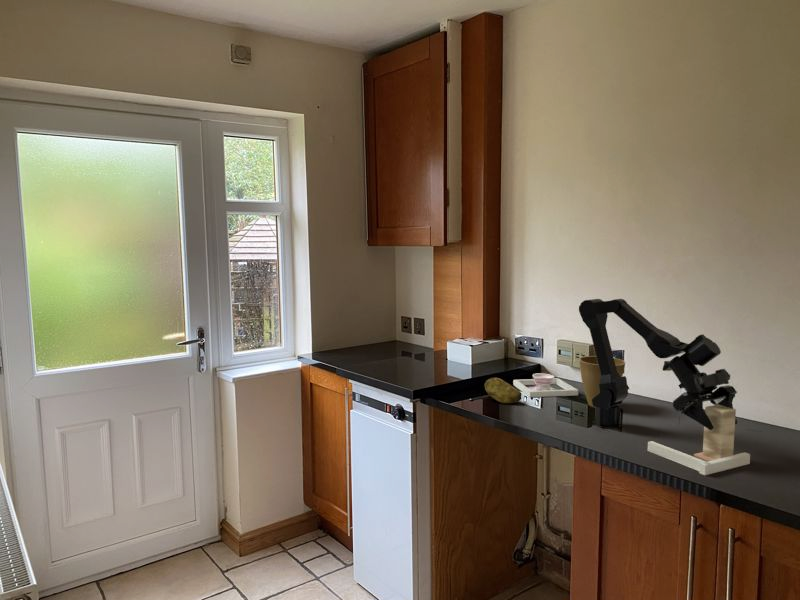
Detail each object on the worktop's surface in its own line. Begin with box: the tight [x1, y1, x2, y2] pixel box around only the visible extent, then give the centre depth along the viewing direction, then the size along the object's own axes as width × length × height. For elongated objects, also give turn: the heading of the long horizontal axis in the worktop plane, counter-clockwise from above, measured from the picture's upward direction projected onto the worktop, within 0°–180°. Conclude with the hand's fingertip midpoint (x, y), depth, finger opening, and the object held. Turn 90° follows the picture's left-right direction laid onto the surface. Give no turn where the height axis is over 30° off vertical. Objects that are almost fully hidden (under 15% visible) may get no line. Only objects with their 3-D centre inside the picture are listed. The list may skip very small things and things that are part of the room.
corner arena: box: [647, 440, 751, 476], centre depth 154 cm, size 18×17×2 cm
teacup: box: [528, 372, 558, 391], centre depth 221 cm, size 12×12×6 cm
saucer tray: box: [512, 377, 579, 398], centre depth 223 cm, size 18×18×2 cm
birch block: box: [702, 404, 737, 460], centre depth 153 cm, size 5×5×13 cm
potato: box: [484, 377, 522, 404], centre depth 207 cm, size 8×13×8 cm, turn 39°
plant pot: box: [579, 355, 626, 409], centre depth 201 cm, size 15×15×16 cm
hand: (724, 426), depth 152 cm, fingers open, 9 cm apart
